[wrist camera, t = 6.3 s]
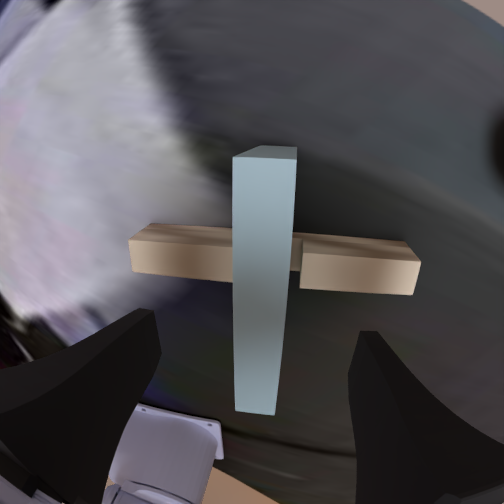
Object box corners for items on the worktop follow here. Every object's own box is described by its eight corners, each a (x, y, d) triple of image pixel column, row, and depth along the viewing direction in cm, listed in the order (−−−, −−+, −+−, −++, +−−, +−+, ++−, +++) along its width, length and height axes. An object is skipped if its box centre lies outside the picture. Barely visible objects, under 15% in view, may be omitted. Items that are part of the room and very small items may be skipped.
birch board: (153, 252, 20) (132, 271, 17) (150, 223, 19) (128, 239, 16) (398, 271, 18) (412, 294, 15) (404, 241, 17) (421, 262, 14)
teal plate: (255, 326, 21) (235, 410, 14) (260, 145, 16) (232, 157, 9) (284, 329, 21) (274, 415, 14) (297, 147, 16) (296, 159, 9)
